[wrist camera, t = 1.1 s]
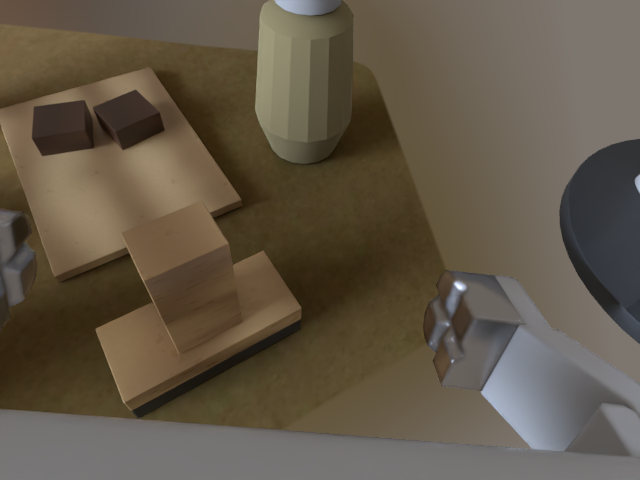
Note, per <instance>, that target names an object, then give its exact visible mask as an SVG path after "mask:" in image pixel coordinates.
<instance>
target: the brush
mask: <svg viewBox="0 0 640 480" xmlns="http://www.w3.org/2000/svg"><path fill="white" fill-rule="evenodd" d="M121 236H122V238H123V240H124V242H125V244H126V247H127V249H128V251H129V253H130V255H131V257H132V259H133V261H134V263H135V265H136V268H137V270H138V272H139V274H140V276H141V278H142V280H143V282H144V284H145V286H146V288H147V290H148V293H149V295H150V297H151V299H152V301H153V302H152V303H150V304H147V305H145V306H143V307H141V308H139V309H137V310H135V311H132V312H130V313H128V314H126V315H124V316H122V317H119V318H117V319H115V320H113V321H111V322H109V323H107V324H104V325H102V326H100V327H98V328H96V332H97V335H98V338H99V340H100V343H101V345H102V348H103V351H104V353H105V356H106V358H107V361H108V364H109V366H110V369H111V372H112V374H113V377H114V379H115V382H116V385H117V387H118V390H119V392H120V395H121V398H122V400H123V403H124V404H125V405H126V406H127V407H128V408H129V409H130V410H131V411H132V412H133V413H134V414H135V415H136V416H137V417H138V418H140V417H142V416H144V415H145V414H147V413H149V412H151V411H153V410H155V409H156V408H158V407H160V406H162V405H164V404H165V403H167V402H169V401H171V400H173V399H175V398H176V397H178V396H180V395H182V394H184V393H185V392H187V391H189V390H191V389H193V388H194V387H196V386H198V385H200V384H202V383H204V382H205V381H207V380H209V379H211V378H213V377H214V376H216V375H218V374H220V373H222V372H224V371H225V370H227V369H229V368H231V367H233V366H234V365H236V364H238V363H240V362H242V361H244V360H245V359H247V358H249V357H251V356H253V355H254V354H256V353H258V352H260V351H262V350H264V349H265V348H267V347H269V346H271V345H273V344H274V343H276V342H278V341H280V340H282V339H283V338H285V337H287V336H289V335H291V334H293V333H294V332H296V331H298V330H300V329H301V312H302V308H301V306H300V305H299V303H298V302H297V300H296V299H295V297H294V296H293V294H292V293H291V291H290V290H289V288H288V287H287V285H286V284H285V282H284V281H283V279H282V278H281V276H280V275H279V273H278V272H277V270H276V269H275V267H274V266H273V264H272V263H271V261H270V260H269V258H268V257H267V256H266V254H265V253H264V251H261V252H259V253H257V254H255V255H253V256H251V257H249V258H246V259H244V260H242V261H240V262H238V263H236V264H233V265H232V259H231V253H230V248H229V243H228V241H227V240H226V238H225V236H224V235H223V233H222V232H221V230H220V229H219V227H218V225H217V224H216V222H215V221H214V219H213V217H212V216H211V214H210V213H209V211H208V209H207V208H206V206H205V205H204V203H203V202H202V201H200V202H197V203H195V204H192V205H190V206H187V207H185V208H182V209H180V210H177V211H175V212H172V213H170V214H167V215H165V216H162V217H160V218H157V219H155V220H152V221H150V222H147V223H145V224H142V225H140V226H137V227H135V228H132V229H130V230H127V231H125V232H122V233H121Z"/></svg>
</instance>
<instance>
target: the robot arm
mask: <svg viewBox="0 0 640 480" xmlns="http://www.w3.org/2000/svg"><path fill="white" fill-rule="evenodd" d="M635 185H636V187H637V190H638V191H639V193H640V174H639V175H638V176H637V177H636V178H635ZM31 234H32V229H31V224H30V219H29V217H28V216H27V215H26V214H25V213H24V212H20V211H14V210H7V209H1V208H0V331H1V330H2V328H3V327H4V326H5V324H6V323H7V322H8V320H9V319H10V318H11V314H10V309H9V307H11V306H13V305H15V304H17V303H20V302H22V301H24V299H25V298H26V296H27V295H28V294H29V292H30V291H31V289H32V286H33V283H34V280H35V277H36V269H37V261H36V254H35V252H34V251H33V250H32V249H31V248H30V247H29V246H28V244H27V243H26V242H25V241H26V240H27V239H28V237H29V236H30V235H31ZM436 287H437V289H438V292H439V295H438V296H436V297H435V298H434V299H432V300H431V301H429V303H428V306H427V309H426V311H425V315H424V324H423V329H424V336H425V339H426V342H427V345H428V346H429V347H430V348H431V349H433V350H434V351H435V352H436V355H435V357H434V359H433V363H434V366H435V369H436V371H437V374H438V377H439V380H440V383H441V386H444V387H452V388H460V389H469V390H476V391H481V394H482V395H483V396H484V397H485V398H486V399H487V400H488V401H489V402H490V404H491V405H492V406H493V407H494V408H495V409H496V410H497V411H498V412H499V413H500V414H501V415H502V416H503V418H504V419H505V420H506V421H507V422H508V423H509V424H510V425H511V426H512V427H513V428H514V429H515V431H516V432H517V433H518V434H519V435H520V436H521V437H522V438H523V439H524V440H525V441H526V442H527V444H529V446H530V447H531V448H532V449H525V448H511V447H498V446H484V445H470V444H456V443H443V442H430V441H417V440H405V439H392V438H379V437H366V436H353V435H341V434H328V433H315V432H302V431H289V430H276V429H262V428H249V427H236V426H222V425H209V424H196V423H182V422H169V421H155V420H142V419H129V418H115V417H102V416H89V415H76V414H62V413H49V412H36V411H23V410H9V409H0V480H640V384H639V383H638V382H636V381H635V380H633V379H632V378H630V377H629V376H627V375H626V374H624V373H623V372H621V371H620V370H618V369H617V368H615V367H614V366H612V365H611V364H609V363H608V362H606V361H605V360H603V359H602V358H600V357H599V356H597V355H596V354H594V353H593V352H591V351H590V350H588V349H587V348H585V347H584V346H582V345H581V344H579V343H578V342H576V341H575V340H573V339H572V338H570V337H569V336H567V335H566V334H564V333H563V332H561V331H560V330H558V329H552V328H550V326H549V325H548V323H547V322H546V320H545V319H544V317H543V316H542V315H541V313H540V312H539V310H538V309H537V307H536V306H535V304H534V303H533V301H532V300H531V298H530V297H529V296H528V294H527V293H526V291H525V290H524V288H523V287H522V285H521V284H520V283H519V281H518V280H517V279H515V278H513V277H507V276H497V275H485V274H476V273H467V272H458V271H449V270H445V271H444V272H443V273H442V274H441V275H440V277H439V279H438V282H437V284H436Z"/></svg>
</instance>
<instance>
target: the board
mask: <svg viewBox="0 0 640 480" xmlns="http://www.w3.org/2000/svg"><path fill="white" fill-rule="evenodd" d="M133 90H137V91H138V92H139V93H140V94H141V95H142V96H143V97H144V98H145V99H146V100H147V101H149V102H150V103H151V104H152V105H153V106H154V107H155V108H156V109H157V110H158V111H159V112H160V115H161V118H162V122H163V126H164V129H165V130H164V131H163V132H160V133H158V134H156V135H154V136H152V137H150V138H148V139H146V140H144V141H141V142H139V143H137V144H135V145H133V146H131V147H129V148H127V149H124V150H122V149H121V148H120V147H119V145H118V144H117V143H116V142H115V141H114V140H113V139H112V138H111V137H110V136H109V135H108V134H107V133H106V131H105V130H104V129H103V128H102V127H101V126H100V124H99V122H98V119H97V117H96V114H95V112H94V110H93V107H94V106H97V105H99V104H102V103H104V102H106V101H109V100H111V99H114V98H116V97H118V96H121V95H123V94H126V93H128V92H131V91H133ZM79 100H85V102H86V104H87V106H88V109H89V111H90V113H91V116H92V118H93V143H94V148H92V149H85V150H79V151H73V152H66V153H60V154H54V155H47V156H42V155H41V153H40V152H39V150H38V148H37V147H36V145H35V143H34V141H33V140H32V138H31V137H32V124H33V110H34V107H35V106H42V105H49V104H57V103H64V102H72V101H79ZM0 124H1V127H2V130H3V133H4V136H5V138H6V141H7V144H8V147H9V150H10V153H11V155H12V158H13V161H14V164H15V167H16V170H17V172H18V175H19V178H20V181H21V184H22V187H23V189H24V192H25V195H26V198H27V201H28V204H29V207H30V209H31V212H32V215H33V218H34V221H35V224H36V226H37V229H38V232H39V235H40V238H41V241H42V243H43V246H44V249H45V252H46V255H47V258H48V260H49V263H50V266H51V269H52V272H53V275H54V277H55V278H56V280H57V281H58V282H61V281H64V280H66V279H69V278H71V277H73V276H76V275H78V274H81V273H83V272H85V271H88V270H90V269H92V268H95V267H97V266H100V265H102V264H104V263H107V262H109V261H112V260H114V259H116V258H119V257H121V256H124V255H126V254H128V253H129V251H128V249H127V247H126V244H125V242H124V240H123V238H122V236H121V233H122V232H125V231H127V230H130V229H132V228H135V227H137V226H140V225H142V224H145V223H147V222H150V221H152V220H155V219H157V218H160V217H162V216H165V215H167V214H170V213H172V212H175V211H177V210H180V209H182V208H185V207H187V206H190V205H192V204H195V203H197V202H200V201H202V202H203V203H204V205H205V206H206V208H207V209H208V211H209V213H210V214H211V216H212V217H213V218H214V217H217V216H219V215H222V214H224V213H226V212H229V211H231V210H234V209H236V208H238V207H241V206H242V199H241V198H240V196H239V195H238V194H237V192H236V191H235V189H234V188H233V186H232V185H231V183H230V182H229V181H228V179H227V178H226V176H225V175H224V173H223V172H222V170H221V169H220V168H219V166H218V165H217V163H216V162H215V160H214V159H213V157H212V156H211V155H210V153H209V152H208V150H207V149H206V147H205V146H204V144H203V143H202V141H201V140H200V139H199V137H198V136H197V134H196V133H195V131H194V130H193V128H192V127H191V126H190V124H189V123H188V121H187V120H186V118H185V117H184V115H183V114H182V113H181V111H180V110H179V108H178V107H177V105H176V104H175V102H174V101H173V100H172V98H171V97H170V95H169V94H168V92H167V91H166V89H165V88H164V87H163V85H162V84H161V82H160V81H159V79H158V78H157V76H156V75H155V74H154V72H153V71H152V69H151V68H150V67H148V68H145V69H141V70H138V71H134V72H130V73H127V74H123V75H120V76H116V77H113V78H109V79H105V80H102V81H98V82H95V83H91V84H87V85H84V86H80V87H77V88H73V89H69V90H66V91H62V92H59V93H55V94H51V95H48V96H44V97H41V98H37V99H33V100H30V101H26V102H23V103H19V104H16V105H12V106H8V107H5V108H1V109H0Z"/></svg>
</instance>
